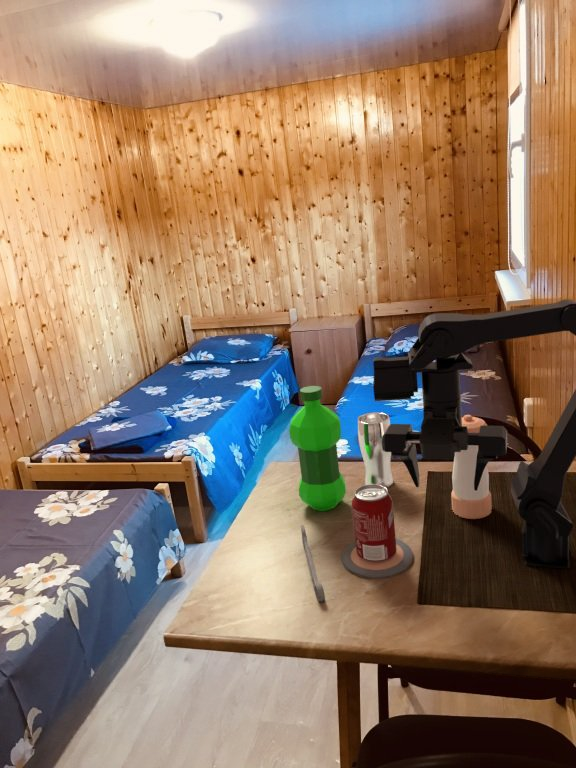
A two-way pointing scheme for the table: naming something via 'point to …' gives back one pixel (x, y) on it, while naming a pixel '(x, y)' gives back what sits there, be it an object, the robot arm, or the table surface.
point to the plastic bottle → (317, 451)
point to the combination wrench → (312, 568)
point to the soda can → (374, 524)
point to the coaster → (378, 569)
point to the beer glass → (374, 448)
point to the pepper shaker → (470, 479)
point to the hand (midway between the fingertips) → (446, 487)
